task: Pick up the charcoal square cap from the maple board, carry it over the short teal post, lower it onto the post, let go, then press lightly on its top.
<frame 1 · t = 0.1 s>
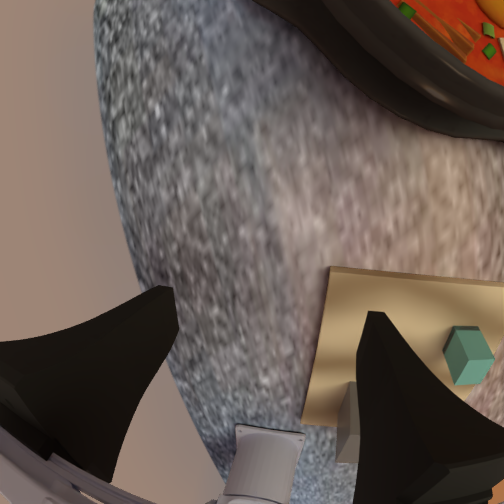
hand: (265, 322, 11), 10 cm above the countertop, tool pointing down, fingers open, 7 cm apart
cap: (370, 400, 24), point 1 cm above the countertop, touching board
board: (407, 366, 23), on the countertop
casserole: (432, 3, 11), on the countertop
post: (460, 338, 19), resting on board
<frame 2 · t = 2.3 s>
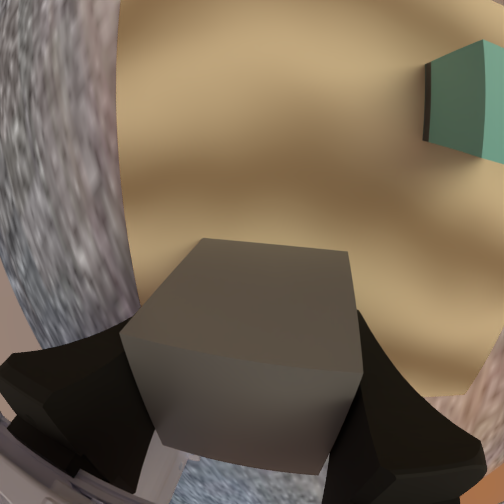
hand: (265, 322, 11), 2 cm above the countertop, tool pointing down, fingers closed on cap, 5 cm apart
cap: (270, 305, 12), point 1 cm above the countertop, touching board, gripper
board: (348, 205, 10), on the countertop
post: (458, 110, 7), resting on board
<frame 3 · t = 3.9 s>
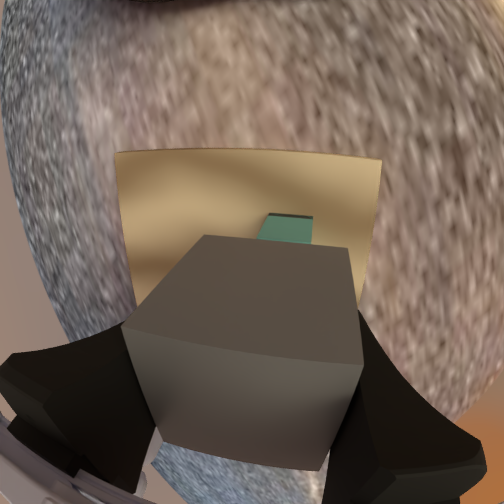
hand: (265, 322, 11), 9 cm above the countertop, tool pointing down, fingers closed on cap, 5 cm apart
cap: (271, 302, 12), point 8 cm above the countertop, touching gripper
board: (237, 279, 21), on the countertop
post: (290, 234, 18), resting on board
when the fingers open (4 cm above the countertop, at t = 5.7 s): cap drops 2 cm, resting on board.
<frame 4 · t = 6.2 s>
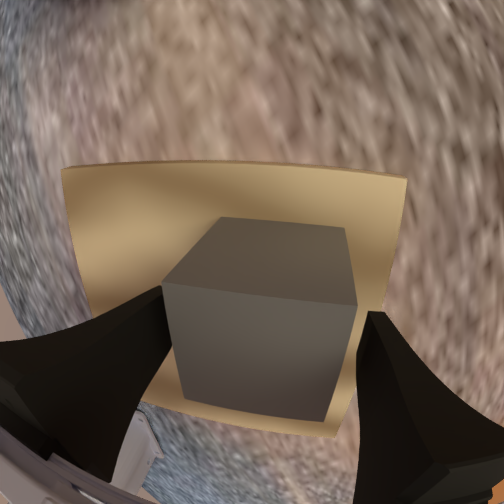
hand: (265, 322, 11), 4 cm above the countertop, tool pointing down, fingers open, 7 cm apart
cap: (278, 276, 14), point 1 cm above the countertop, touching board
board: (214, 325, 17), on the countertop
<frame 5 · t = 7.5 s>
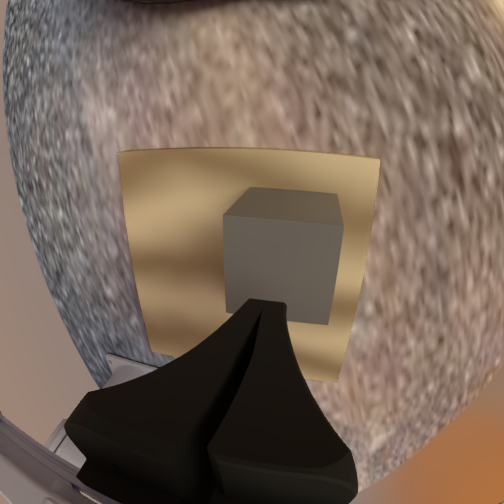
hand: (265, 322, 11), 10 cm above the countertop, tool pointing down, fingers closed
cap: (291, 230, 19), point 1 cm above the countertop, touching board
board: (239, 275, 22), on the countertop
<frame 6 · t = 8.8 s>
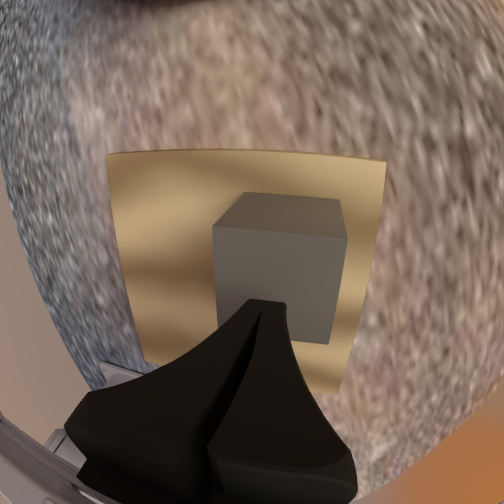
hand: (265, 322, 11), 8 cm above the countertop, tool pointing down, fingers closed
cap: (289, 239, 17), point 1 cm above the countertop, touching board
board: (234, 285, 21), on the countertop
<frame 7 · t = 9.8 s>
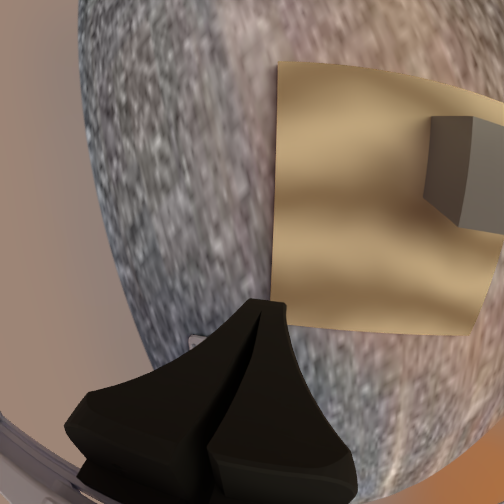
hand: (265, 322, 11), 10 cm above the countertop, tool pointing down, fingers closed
cap: (462, 164, 15), point 1 cm above the countertop, touching board
board: (403, 214, 18), on the countertop
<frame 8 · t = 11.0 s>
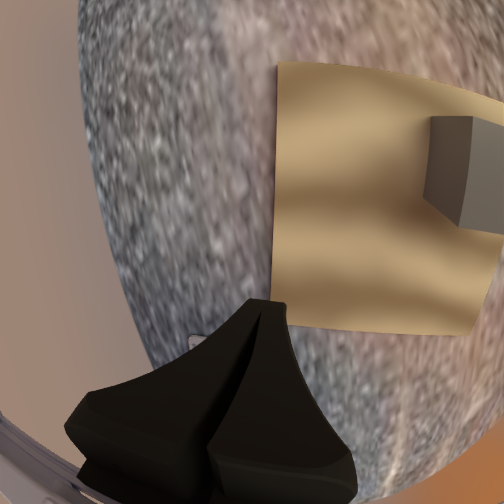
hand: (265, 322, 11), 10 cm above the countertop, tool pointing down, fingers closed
cap: (462, 164, 15), point 1 cm above the countertop, touching board
board: (403, 214, 18), on the countertop
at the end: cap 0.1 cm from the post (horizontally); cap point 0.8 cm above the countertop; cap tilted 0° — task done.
